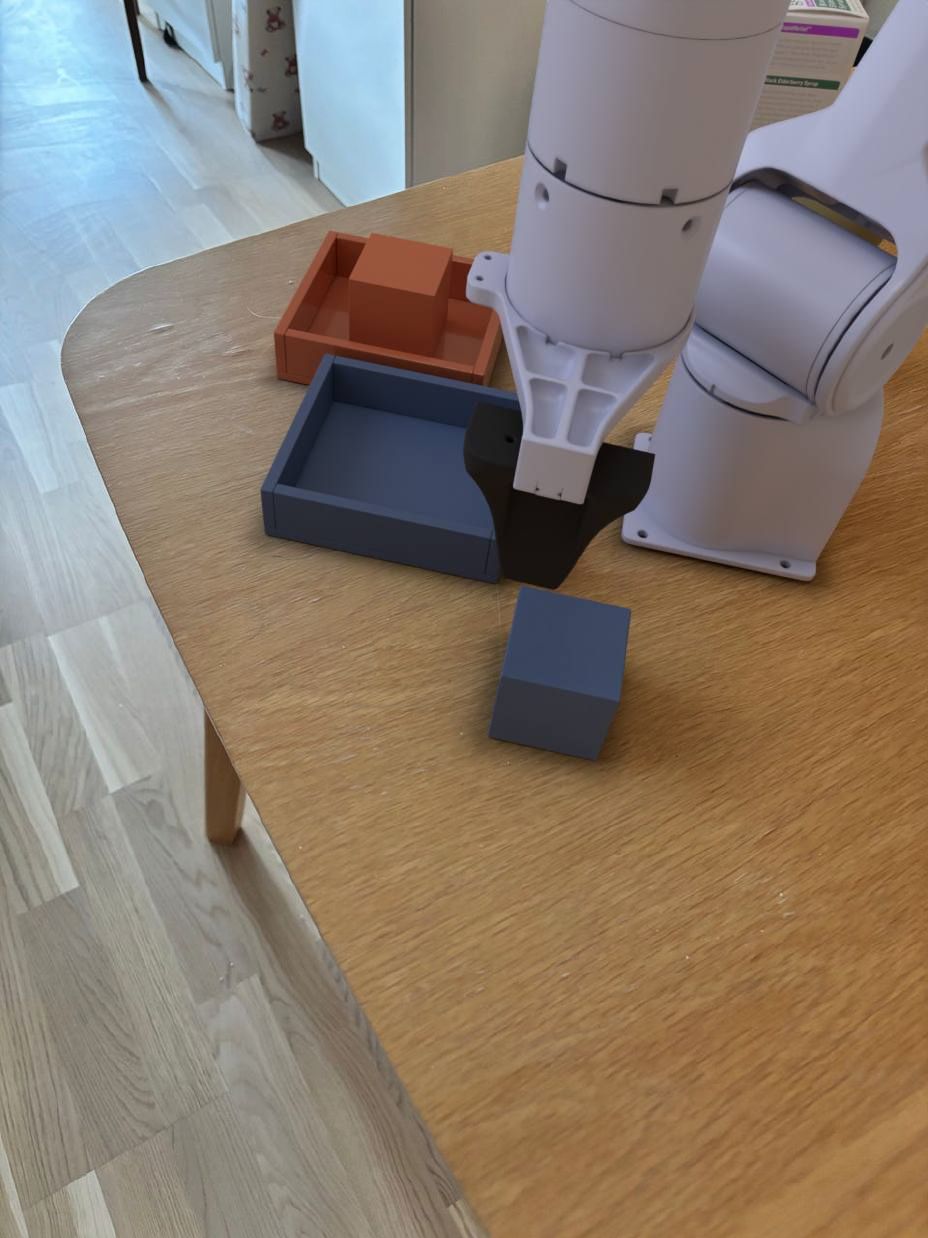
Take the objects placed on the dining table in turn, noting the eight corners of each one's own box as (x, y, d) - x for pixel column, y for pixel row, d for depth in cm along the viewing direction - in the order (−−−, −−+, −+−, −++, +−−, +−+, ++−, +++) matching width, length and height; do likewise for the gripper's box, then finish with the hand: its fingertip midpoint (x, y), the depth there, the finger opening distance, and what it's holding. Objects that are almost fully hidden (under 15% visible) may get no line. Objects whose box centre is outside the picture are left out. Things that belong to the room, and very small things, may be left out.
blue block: (608, 672, 43) (632, 608, 39) (596, 761, 40) (620, 701, 36) (506, 650, 43) (520, 584, 40) (487, 737, 40) (500, 674, 37)
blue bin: (530, 441, 52) (539, 396, 49) (496, 584, 45) (504, 541, 43) (325, 398, 52) (324, 352, 50) (264, 534, 46) (259, 489, 44)
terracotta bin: (510, 311, 59) (517, 266, 56) (478, 420, 52) (484, 375, 50) (329, 275, 59) (328, 229, 57) (276, 378, 53) (273, 332, 50)
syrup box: (787, 252, 65) (879, 15, 54) (700, 244, 65) (775, 4, 54) (771, 207, 69) (855, -25, 57) (690, 199, 69) (757, -35, 57)
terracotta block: (446, 319, 57) (453, 248, 53) (429, 368, 54) (435, 295, 50) (369, 304, 57) (371, 231, 53) (348, 351, 54) (348, 278, 50)
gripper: (535, 19, 31) (487, 366, 42) (420, 262, 22) (397, 623, 33) (754, 63, 31) (649, 402, 41) (726, 329, 22) (601, 673, 32)
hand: (549, 503), depth 37 cm, fingers open, 7 cm apart
